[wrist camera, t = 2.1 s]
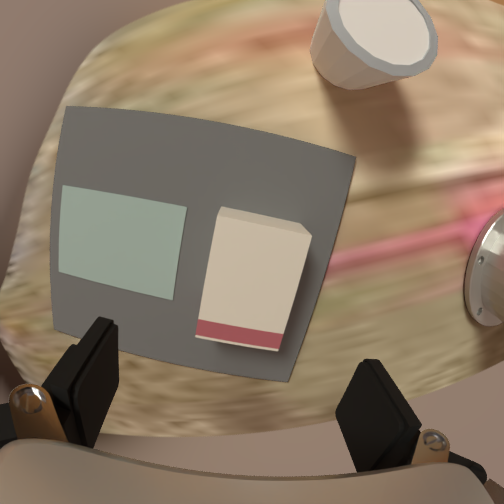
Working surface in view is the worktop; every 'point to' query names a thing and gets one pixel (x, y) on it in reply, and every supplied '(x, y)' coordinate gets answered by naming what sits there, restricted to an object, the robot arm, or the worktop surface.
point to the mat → (179, 227)
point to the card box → (251, 279)
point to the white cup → (372, 42)
